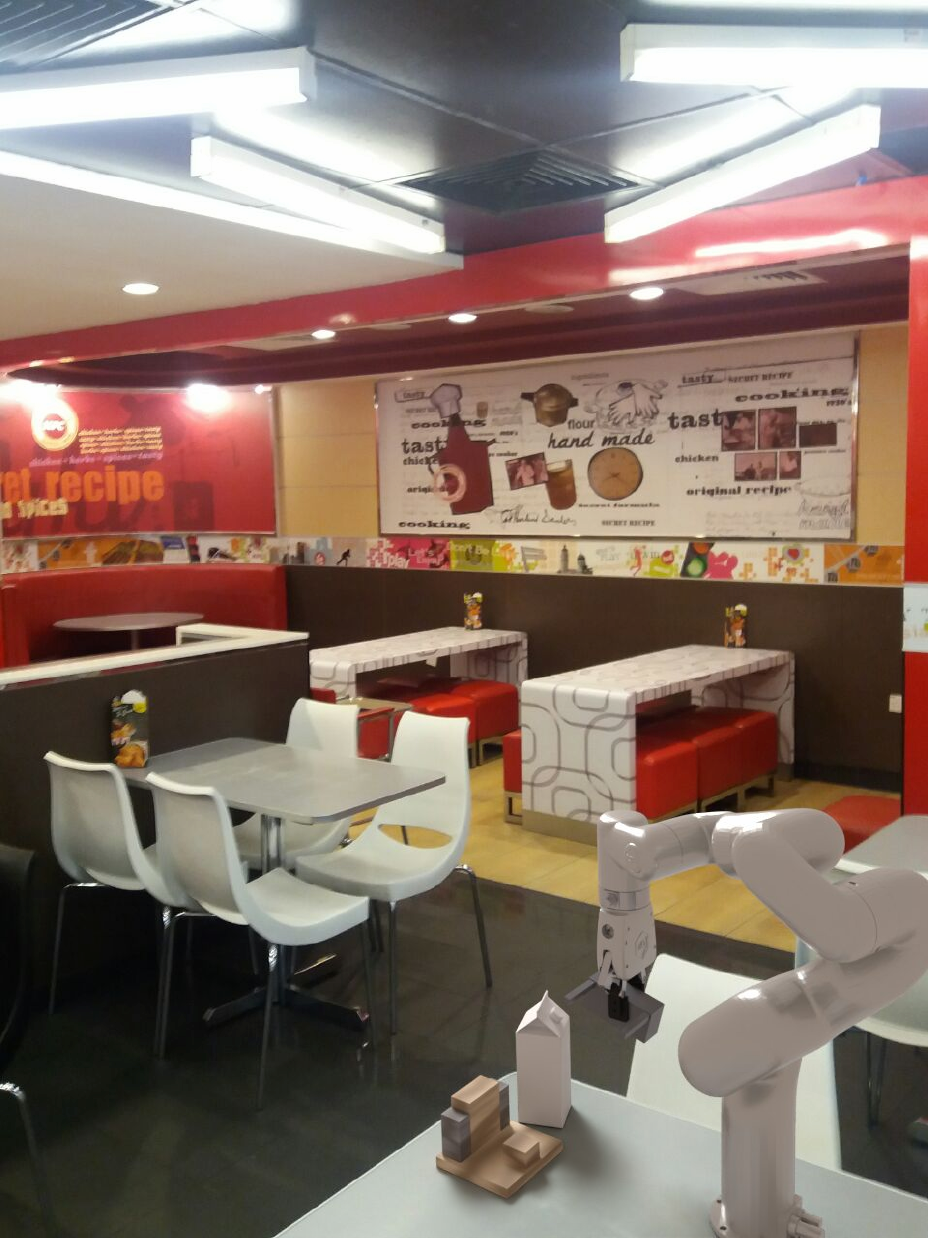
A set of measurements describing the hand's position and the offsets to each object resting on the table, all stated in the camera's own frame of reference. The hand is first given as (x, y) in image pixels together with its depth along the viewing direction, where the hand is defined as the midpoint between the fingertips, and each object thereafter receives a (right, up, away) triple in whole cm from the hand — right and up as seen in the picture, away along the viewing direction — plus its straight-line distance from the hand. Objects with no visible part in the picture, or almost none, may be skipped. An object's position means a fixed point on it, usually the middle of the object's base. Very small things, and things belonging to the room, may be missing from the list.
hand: (626, 1012), depth 168 cm
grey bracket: (-3, -2, -2) cm, 4 cm away
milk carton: (-11, -20, +10) cm, 25 cm away
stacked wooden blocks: (-19, -21, -1) cm, 29 cm away
